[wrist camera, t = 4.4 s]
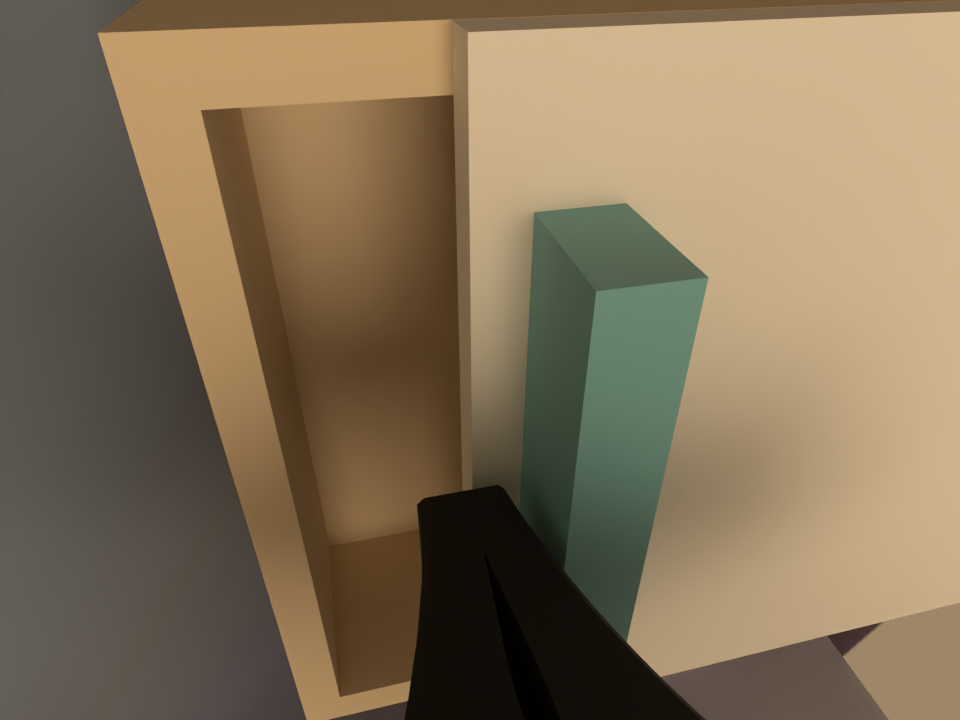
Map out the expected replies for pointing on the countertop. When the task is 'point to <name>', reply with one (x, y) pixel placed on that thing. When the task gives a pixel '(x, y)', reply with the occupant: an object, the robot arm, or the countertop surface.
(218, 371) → the mailer
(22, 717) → the countertop surface
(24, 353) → the countertop surface
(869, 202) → the tan board with ridge
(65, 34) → the countertop surface
